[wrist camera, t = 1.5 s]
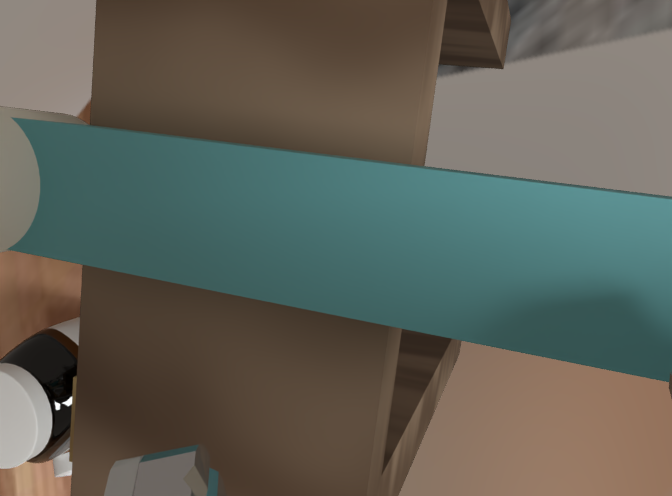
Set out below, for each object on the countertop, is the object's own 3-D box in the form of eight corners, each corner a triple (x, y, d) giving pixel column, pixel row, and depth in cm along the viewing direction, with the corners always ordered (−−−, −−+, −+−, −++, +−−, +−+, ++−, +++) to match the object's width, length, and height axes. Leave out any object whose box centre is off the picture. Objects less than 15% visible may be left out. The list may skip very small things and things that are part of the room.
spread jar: (111, 292, 51) (-6, 325, 40) (206, 392, 50) (110, 456, 39) (38, 387, 55) (-88, 442, 44) (124, 483, 53) (15, 566, 42)
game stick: (11, 107, 20) (-112, 92, 16) (818, 203, 14) (925, 215, 10) (7, 231, 21) (-112, 245, 17) (775, 377, 14) (861, 451, 10)
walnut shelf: (354, 11, 42) (98, -208, 18) (511, 20, 39) (464, -229, 15) (318, 325, 46) (62, 505, 21) (459, 354, 43) (352, 602, 18)
